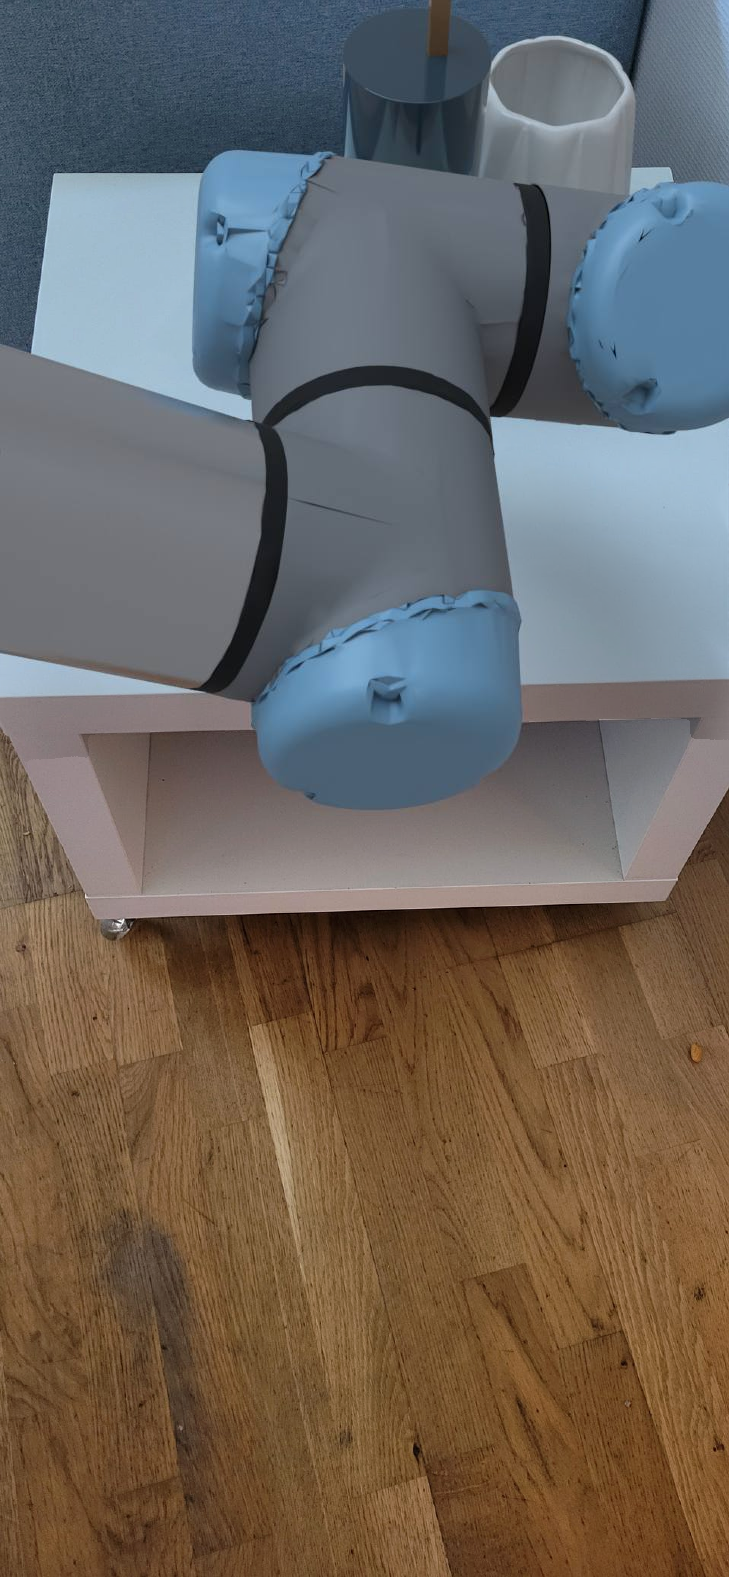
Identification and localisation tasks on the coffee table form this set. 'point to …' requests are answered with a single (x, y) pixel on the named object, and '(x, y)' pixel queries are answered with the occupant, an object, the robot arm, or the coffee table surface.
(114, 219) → the coffee table surface
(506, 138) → the vase
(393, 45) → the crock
